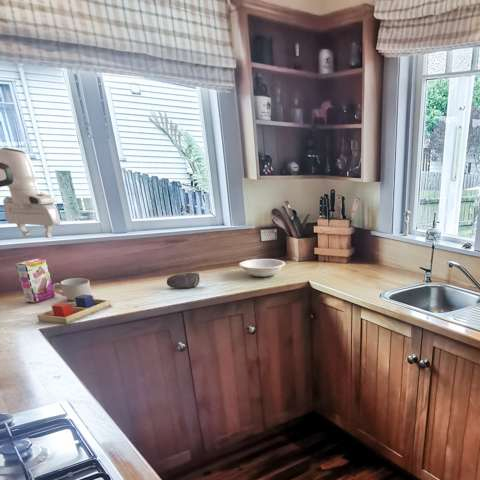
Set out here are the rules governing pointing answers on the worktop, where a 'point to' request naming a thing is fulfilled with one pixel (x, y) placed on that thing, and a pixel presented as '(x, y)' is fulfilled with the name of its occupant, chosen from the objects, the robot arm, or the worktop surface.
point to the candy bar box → (35, 280)
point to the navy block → (84, 301)
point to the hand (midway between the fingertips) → (37, 236)
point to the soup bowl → (262, 267)
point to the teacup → (73, 288)
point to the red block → (62, 309)
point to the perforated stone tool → (183, 280)
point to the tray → (74, 312)
